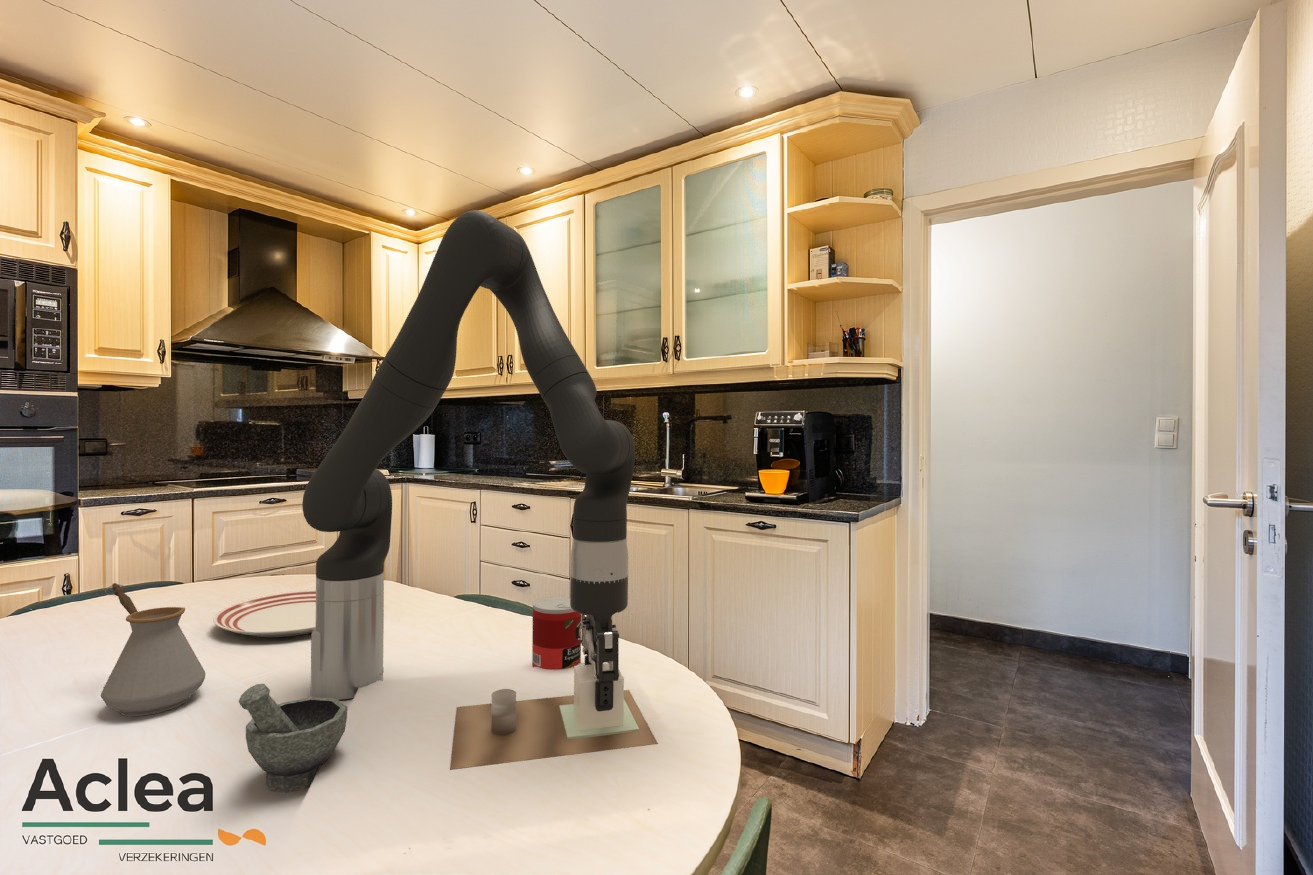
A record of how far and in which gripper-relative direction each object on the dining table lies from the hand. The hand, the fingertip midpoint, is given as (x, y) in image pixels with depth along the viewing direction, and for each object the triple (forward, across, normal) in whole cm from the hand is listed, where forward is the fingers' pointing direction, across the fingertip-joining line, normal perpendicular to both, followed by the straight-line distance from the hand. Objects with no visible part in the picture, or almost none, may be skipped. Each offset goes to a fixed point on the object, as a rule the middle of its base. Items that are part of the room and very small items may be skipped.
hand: (598, 695), depth 81 cm
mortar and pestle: (+5, -3, +35) cm, 35 cm away
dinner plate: (+5, +59, +51) cm, 78 cm away
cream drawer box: (+3, 0, 0) cm, 3 cm away
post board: (+5, 0, +6) cm, 8 cm away
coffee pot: (+5, +26, +62) cm, 68 cm away
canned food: (+5, +22, +3) cm, 23 cm away
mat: (+3, 0, 0) cm, 3 cm away
